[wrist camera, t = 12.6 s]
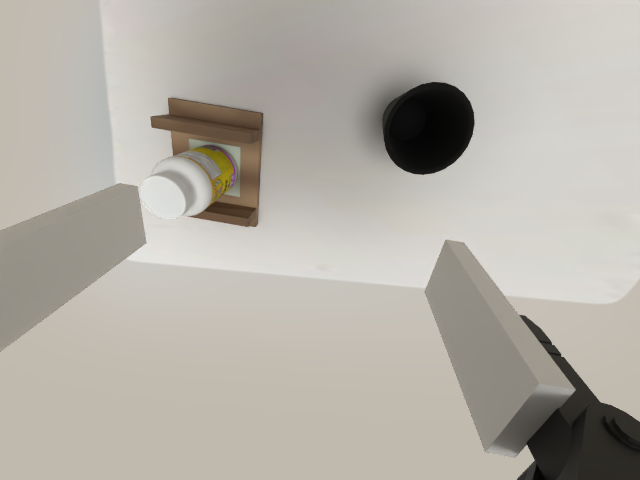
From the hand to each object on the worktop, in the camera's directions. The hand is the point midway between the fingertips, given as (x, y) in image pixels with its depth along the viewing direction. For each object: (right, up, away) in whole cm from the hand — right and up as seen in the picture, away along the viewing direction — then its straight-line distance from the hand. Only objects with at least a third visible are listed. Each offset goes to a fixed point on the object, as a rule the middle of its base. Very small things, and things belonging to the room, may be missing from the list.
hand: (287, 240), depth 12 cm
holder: (-13, +10, +28) cm, 33 cm away
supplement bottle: (-13, +10, +27) cm, 32 cm away
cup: (+12, +15, +24) cm, 31 cm away
